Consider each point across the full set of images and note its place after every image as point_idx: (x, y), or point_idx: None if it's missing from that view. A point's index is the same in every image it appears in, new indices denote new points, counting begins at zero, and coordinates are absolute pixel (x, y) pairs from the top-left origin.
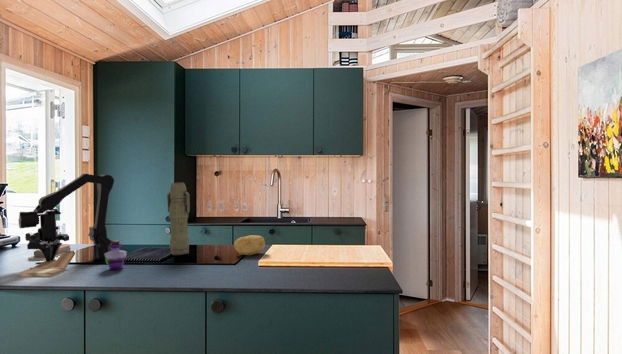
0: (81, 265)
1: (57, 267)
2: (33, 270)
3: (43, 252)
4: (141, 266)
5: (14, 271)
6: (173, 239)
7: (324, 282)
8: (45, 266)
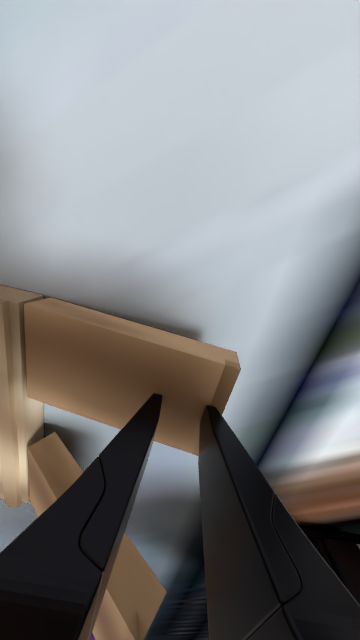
0: (180, 506)
1: (30, 477)
2: None
3: (51, 519)
4: None
5: (53, 85)
6: None
7: None
8: (56, 402)
